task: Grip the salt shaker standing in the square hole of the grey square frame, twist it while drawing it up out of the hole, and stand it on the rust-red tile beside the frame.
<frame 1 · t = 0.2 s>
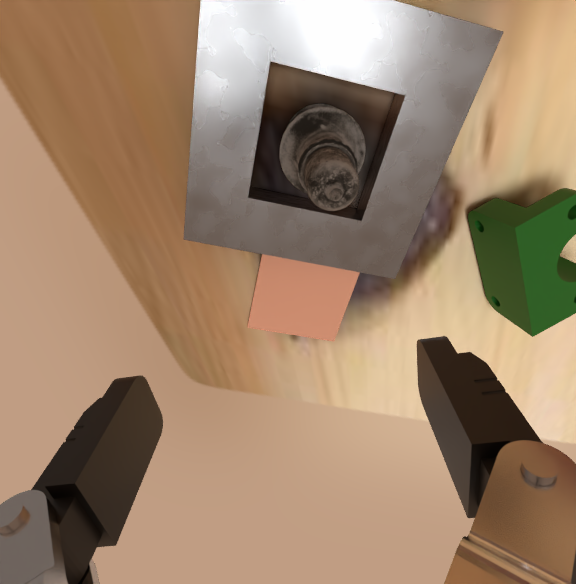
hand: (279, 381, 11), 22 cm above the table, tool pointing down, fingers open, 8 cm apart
tile: (301, 295, 37), on the table
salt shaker: (318, 141, 29), resting in grey square frame
grey square frame: (318, 141, 29), on the table
clamp: (514, 240, 34), on the table
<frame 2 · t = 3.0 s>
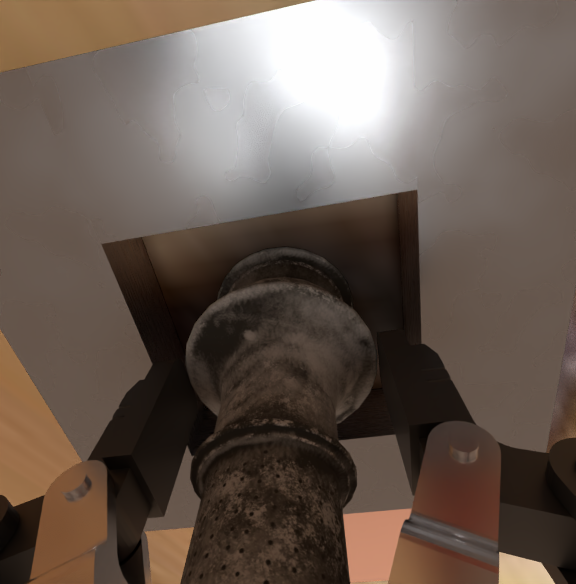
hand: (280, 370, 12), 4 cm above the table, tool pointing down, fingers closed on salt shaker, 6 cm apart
tile: (367, 524, 21), on the table
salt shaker: (285, 308, 15), resting in grey square frame, touching gripper
grey square frame: (284, 311, 15), on the table
when the fingers open (6 cm above the table, at t = 11.1 s): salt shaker drops 2 cm, resting on tile.
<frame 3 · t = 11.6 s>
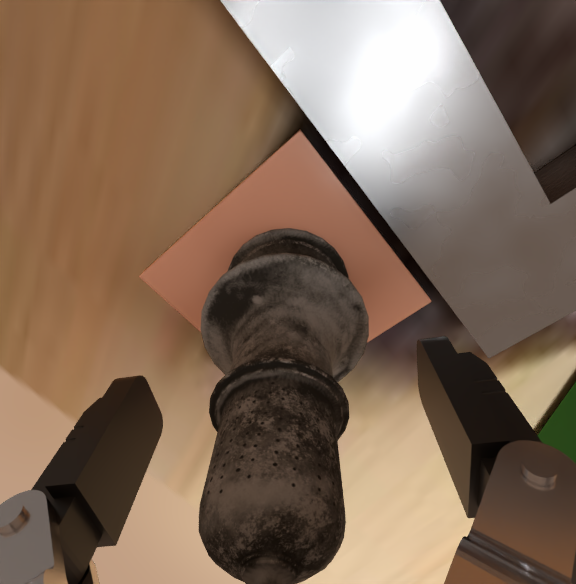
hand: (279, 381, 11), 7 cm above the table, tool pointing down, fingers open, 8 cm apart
tile: (286, 282, 17), on the table
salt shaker: (287, 285, 17), resting on tile
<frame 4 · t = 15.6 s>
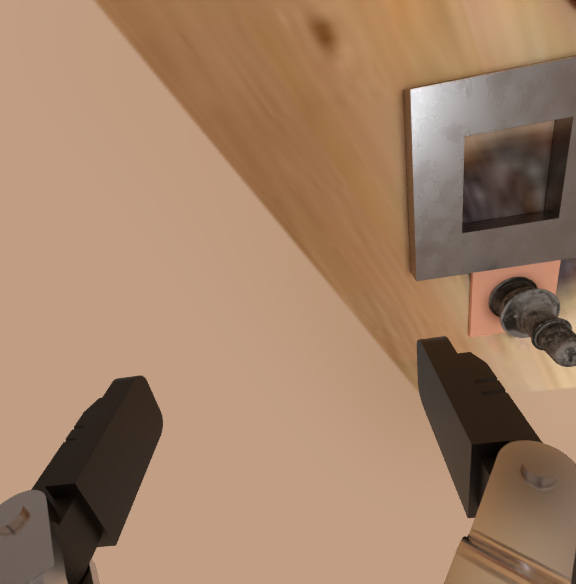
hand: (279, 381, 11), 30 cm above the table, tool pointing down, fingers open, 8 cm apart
tile: (510, 296, 43), on the table
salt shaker: (512, 297, 43), resting on tile
grey square frame: (500, 174, 37), on the table
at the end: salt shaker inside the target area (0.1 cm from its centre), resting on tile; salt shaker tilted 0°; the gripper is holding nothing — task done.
